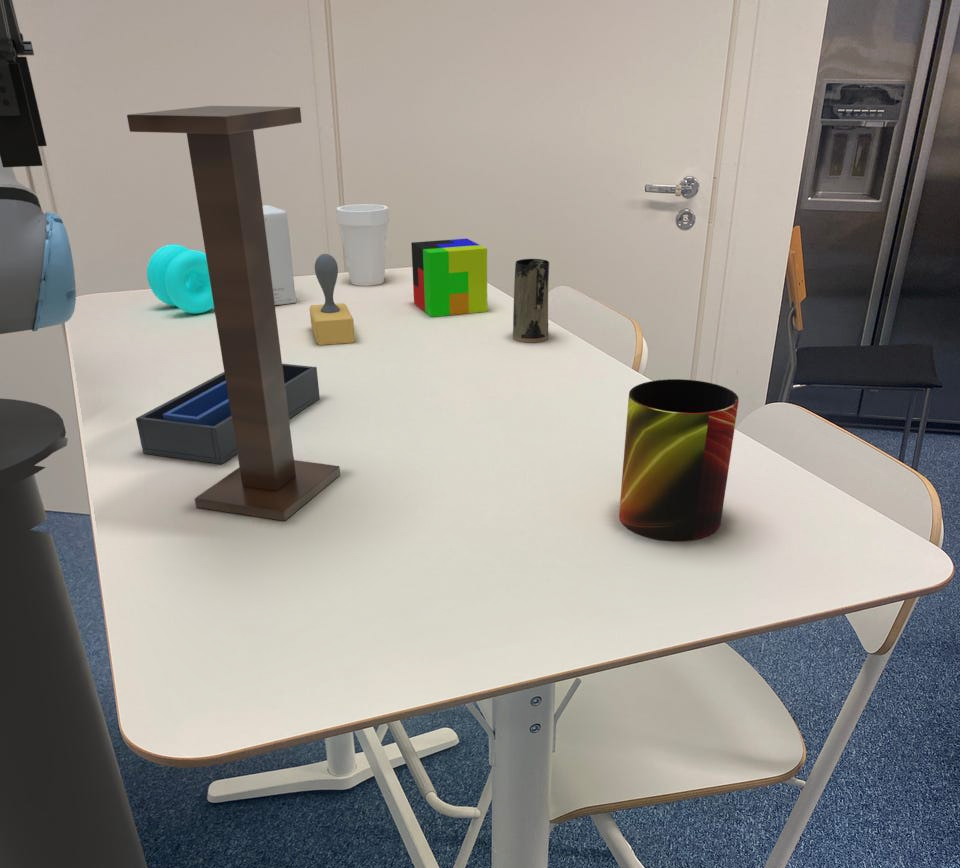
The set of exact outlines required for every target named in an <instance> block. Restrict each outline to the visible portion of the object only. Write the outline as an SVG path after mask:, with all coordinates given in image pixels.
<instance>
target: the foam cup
mask: <svg viewBox="0 0 960 868" xmlns="http://www.w3.org/2000/svg"><path fill="white" fill-rule="evenodd" d="M335 211H336V221H337V224H338V226H339V227H338V228H339V232H340V238H341V242H342V247H343V252H344V256H345V261H346V266H347V271H348V276H349V280H350V284H352V285H353V286H359V287H360V286H362V287H367V286H368V287H371V286H378V285H381V284H383V283H384V282H385V274H386V273H385V271H386V258H387V257H386V255H387V239H388V237H387V236H388V223H389V221H390V220H389V206H387V205H384V204H377V203H375V204H374V203H359V204H358V203H357V204H345V205H341V206H337V207H336V210H335Z"/></svg>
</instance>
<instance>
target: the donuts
mask: <svg viewBox="0 0 960 868" xmlns="http://www.w3.org/2000/svg"><path fill="white" fill-rule="evenodd" d="M146 278H147V282H148V286H149V288H150V290H151V292H152V293H153V295H154V296H155V297H156V298H157V299H158V300H159V301H161V302H162V303H164V304H166V305H168V306H171V307H177V308H179V309H180V310H181V311H183V312H186V313H188V314H192V315H193V314H194V315H197V314H204V313H206V312H209V311H210V310H211V309H213V308H214V303H213V297H212V291H211V284H210V278H209V272H208V265H207V259H206V253H205V252H202V251H200V250H195V249H189V248H187V247H186V246H183V245H180V244H167V245H164V246H161V247H159V248H158V249H157V250H156V251H155V252H153V254H152V255H151V256H150V259H149V261H148V264H147V269H146Z"/></svg>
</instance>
